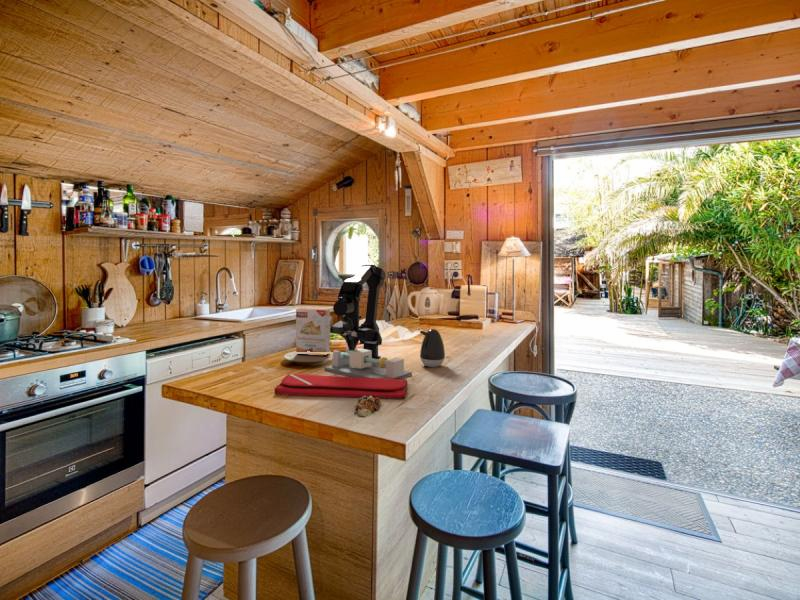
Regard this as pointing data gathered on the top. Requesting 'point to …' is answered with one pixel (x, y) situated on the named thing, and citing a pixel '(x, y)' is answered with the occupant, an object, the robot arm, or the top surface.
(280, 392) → the dish drying mat
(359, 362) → the sleeve
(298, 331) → the cracker box
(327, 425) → the top surface
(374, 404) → the pastry
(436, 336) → the pump dispenser
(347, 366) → the board
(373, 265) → the robot arm
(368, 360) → the pale teal rod
